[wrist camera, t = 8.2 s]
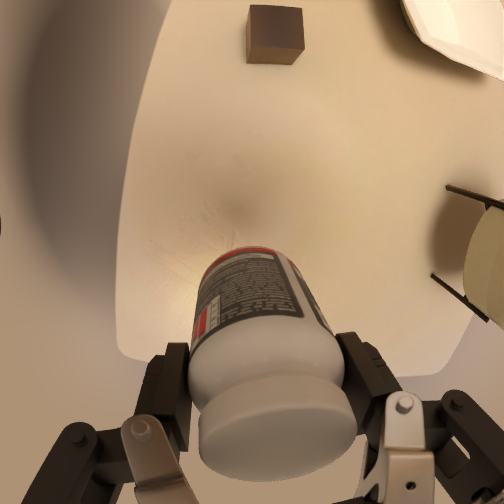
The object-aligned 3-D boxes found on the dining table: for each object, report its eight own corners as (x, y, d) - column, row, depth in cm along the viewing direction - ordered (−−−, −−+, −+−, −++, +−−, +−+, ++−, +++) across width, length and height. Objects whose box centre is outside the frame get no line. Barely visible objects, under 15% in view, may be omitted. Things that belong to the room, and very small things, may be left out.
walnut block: (246, 63, 27) (250, 46, 21) (245, 26, 25) (250, 4, 19) (291, 65, 27) (304, 49, 22) (289, 28, 25) (302, 7, 20)
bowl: (488, 93, 28) (525, 92, 20) (375, 63, 27) (413, 47, 19) (461, -15, 21) (490, -27, 13) (346, -57, 19) (368, -86, 12)
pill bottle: (184, 313, 16) (157, 470, 7) (224, 225, 15) (222, 365, 5) (272, 344, 17) (305, 489, 8) (320, 267, 16) (410, 403, 7)
